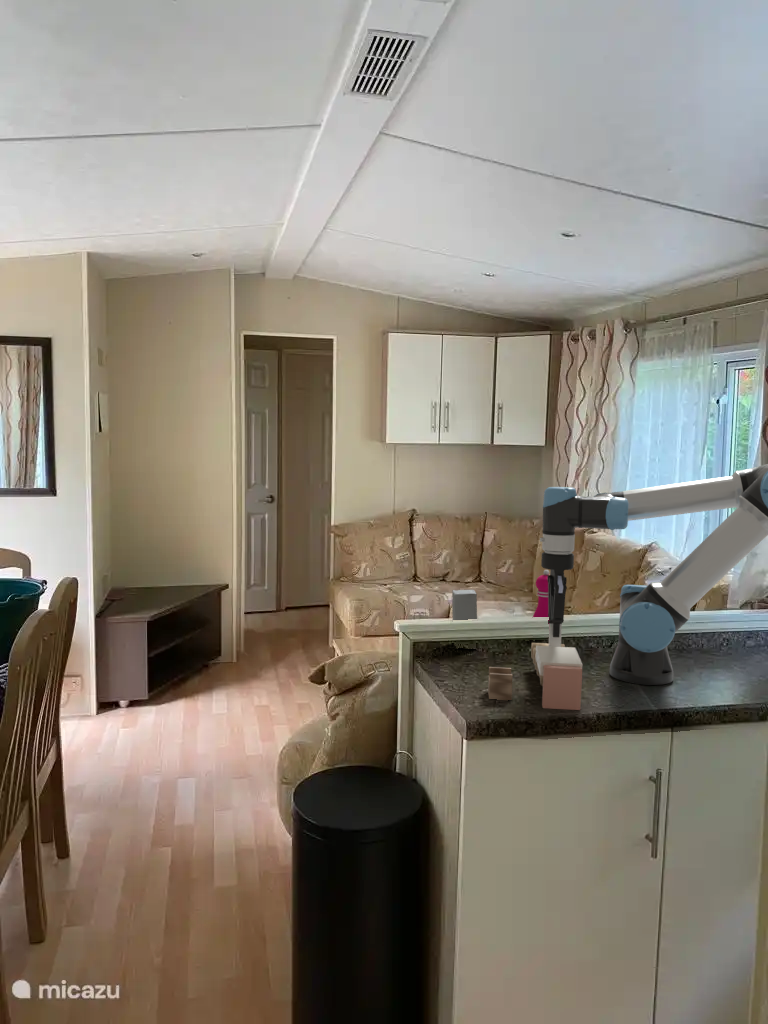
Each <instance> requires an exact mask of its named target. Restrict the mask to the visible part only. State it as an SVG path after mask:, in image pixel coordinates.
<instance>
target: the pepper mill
mask: <svg viewBox="0 0 768 1024" xmlns="http://www.w3.org/2000/svg"><path fill="white" fill-rule="evenodd" d="M542 573H543V574H542V575H539V576H538V577H537V578H536V580H535V586H536V588H537V589H538V590H536V592H537V593H536V596H537V600H538V601H537V606H536V609H535V611H534V612H533V616H532V618H533V617H548V580H547V578H548V575H550V571H549V569H544V570H543V571H542Z"/></svg>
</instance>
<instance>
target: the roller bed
mask: <svg viewBox="0 0 768 1024" xmlns="http://www.w3.org/2000/svg"><path fill="white" fill-rule="evenodd" d="M536 646H549V642H548V643H546V642H544V643H543V642H531V647H530V648H531V649H530V655H531V659H532V663H533V665H534V669H535V670H536V676H538V677H539V678H540V673H539V669H538V666H537V662H536ZM561 647H566V646H565V644H564V643H561ZM541 686H542V687H543V685H541Z"/></svg>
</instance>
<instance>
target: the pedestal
mask: <svg viewBox="0 0 768 1024" xmlns="http://www.w3.org/2000/svg"><path fill="white" fill-rule="evenodd" d="M513 677H514V675H513V674H512V668H511V667H501V666H500V667H499V666H489V667H488V682H487V683H488V688H487V689H488V690H487V692H488V700H489V699H497V700H496V701H508V700H512V699H513V679H514V678H513ZM512 701H513V700H512Z"/></svg>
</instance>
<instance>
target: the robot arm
mask: <svg viewBox="0 0 768 1024" xmlns="http://www.w3.org/2000/svg"><path fill="white" fill-rule="evenodd" d="M543 492H544V493H543V502H542V503H543V504H542V537H539V542H541V550H543V552H542V553H541V563H540V564H541V565H540V567H542V568H543V569H544V570H548V571H549V570H550V571H549V575H548V578H547V580H548V617H549V620H548V624H549V638H548V644H549V646H553V647H561V644H562V627H563V623H564V619H565V617H564V615H565V604H566V592H567V588H568V586H567V580H568V579H567V577H566V575H565V571H570V570H572V569H574V566H575V565H574V564H575V563H574V562H575V561H574V560H575V559H574V558H575V555H574V553H573V552H574V551H575V540H576V534H575V529H576V528H577V529H595V530H596V529H598V530H611V531H614V530H625V529H627V527H628V523H629V521H636V520H637V521H639V520H645V519H653V518H655V519H656V518H662V517H669V516H678V515H684V514H685V515H687V514H694V513H702V512H710V511H716V510H718V511H719V510H725V509H727V510H728V509H732V508H733V509H734V508H736V509H735V510H733V511H732V512H731V513H730V514H729V516H727V517H726V518H725V519H724V520H723V521H722V522H721V523H720V524H719V525H718V526H717V527H716V528H715V529H714V530H712V532H711V533H710V534H709V535H708V536H707V537H706V538H705V539H703V540H702V542H701V543H699V544H698V546H696V548H694V550H693V551H692V552H691V553H689V554H688V555H687V556H686V557H685V558H684V559H683V560H682V561H681V562H680V563H679V564H678V565H677V566H676V567H675V568H674V569H673V570H672V571H671V572H670V573H669V574H668V575H667V576H666V577H665V578H664V579H663V580H662V581H660V582H659V581H658V582H657V581H656V582H653V581H652V582H650V583H648V585H643V584H642V585H640V584H624V585H623V586H622V587H621V591H620V594H619V598H620V603H619V604H620V605H619V623H618V640H617V641H618V643H617V647H616V649H615V651H614V654H613V657H612V658H611V661H610V663H609V675H610V676H611V677H612V678H614V679H616V680H619V681H622V682H626V683H630V684H637V685H645V686H648V685H649V686H661V685H668V684H671V683H672V682H673V681H674V669H673V665H672V661H671V658H670V654H669V649H668V646H669V645H670V644H671V642H672V640H674V638H675V634H676V632H678V631H679V630H680V629H681V628H682V627H683V626H684V625H685V624H686V623H687V622H688V621H689V620H690V619H691V608H692V607H693V606H694V605H696V604H697V603H698V602H699V601H700V600H701V599H702V598H703V597H704V596H705V595H706V594H707V593H708V592H709V591H711V590H712V588H714V587H715V586H716V585H717V584H718V583H719V582H720V581H721V580H722V579H723V578H725V576H726V575H727V574H729V572H730V571H731V570H732V569H734V568H735V566H737V565H738V564H739V563H740V562H741V561H742V560H743V559H744V558H745V557H747V555H749V553H750V552H752V550H754V548H756V547H757V546H758V545H759V544H760V542H761V543H762V541H763V540H764V539H765V538H766V537H767V536H768V463H767V464H761V465H758V466H755V467H751V468H746V469H740V470H736V471H734V472H733V473H732V475H730V476H729V475H728V476H722V477H714V478H706V479H699V480H692V481H685V482H679V483H678V482H677V483H670V484H665V485H664V484H663V485H656V486H649V487H643V488H636V489H629V490H622V491H614V492H601V493H597V494H595V495H592V496H583V495H578V494H577V490H576V488H575V487H571V486H570V487H567V486H549V487H547V488H546V489H545V490H544V491H543Z"/></svg>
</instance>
